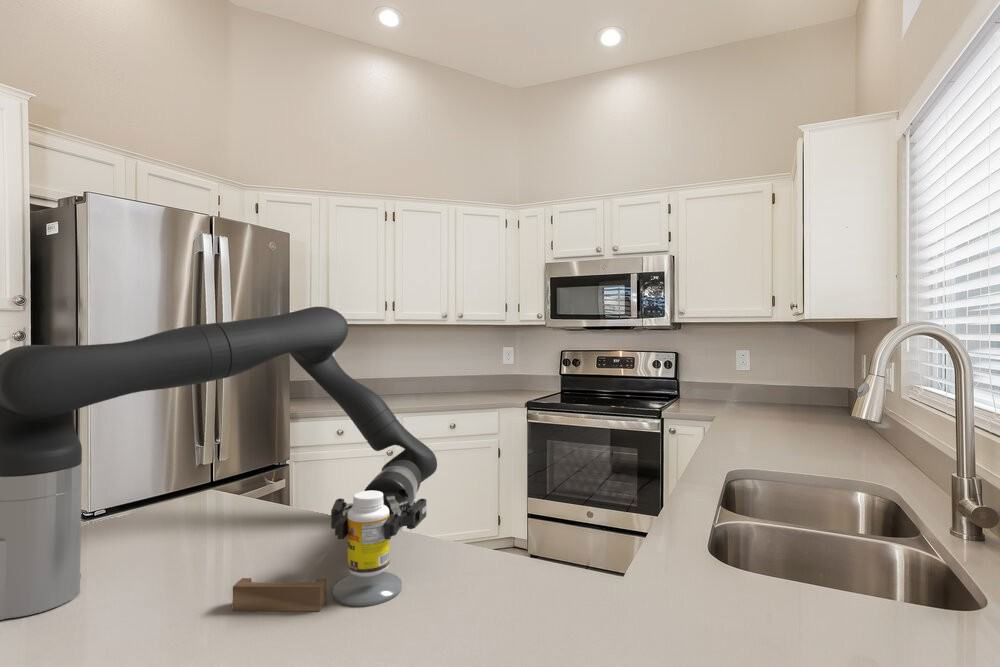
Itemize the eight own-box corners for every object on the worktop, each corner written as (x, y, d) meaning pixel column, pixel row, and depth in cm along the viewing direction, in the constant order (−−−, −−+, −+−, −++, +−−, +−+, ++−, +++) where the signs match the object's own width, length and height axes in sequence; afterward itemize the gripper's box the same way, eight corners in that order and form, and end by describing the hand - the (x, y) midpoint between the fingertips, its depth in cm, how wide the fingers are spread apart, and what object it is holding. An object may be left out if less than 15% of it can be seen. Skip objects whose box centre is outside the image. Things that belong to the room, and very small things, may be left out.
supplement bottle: (347, 563, 74) (346, 490, 74) (387, 558, 76) (387, 486, 76) (348, 581, 69) (347, 502, 69) (391, 575, 70) (391, 498, 70)
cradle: (242, 601, 69) (242, 578, 69) (326, 601, 69) (326, 578, 69) (232, 610, 66) (232, 586, 67) (319, 611, 66) (320, 586, 66)
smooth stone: (362, 613, 66) (362, 608, 66) (319, 593, 71) (319, 588, 71) (415, 586, 73) (415, 582, 73) (372, 570, 78) (372, 566, 78)
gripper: (347, 470, 87) (309, 503, 70) (435, 470, 87) (418, 503, 70) (347, 516, 87) (309, 560, 70) (435, 516, 87) (418, 560, 70)
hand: (363, 531), depth 70 cm, fingers closed on supplement bottle, 5 cm apart
